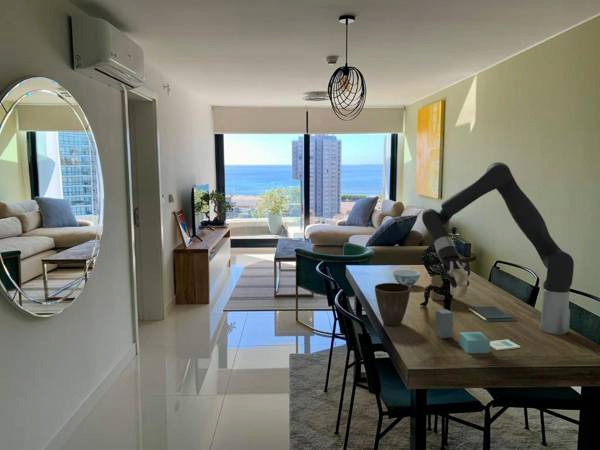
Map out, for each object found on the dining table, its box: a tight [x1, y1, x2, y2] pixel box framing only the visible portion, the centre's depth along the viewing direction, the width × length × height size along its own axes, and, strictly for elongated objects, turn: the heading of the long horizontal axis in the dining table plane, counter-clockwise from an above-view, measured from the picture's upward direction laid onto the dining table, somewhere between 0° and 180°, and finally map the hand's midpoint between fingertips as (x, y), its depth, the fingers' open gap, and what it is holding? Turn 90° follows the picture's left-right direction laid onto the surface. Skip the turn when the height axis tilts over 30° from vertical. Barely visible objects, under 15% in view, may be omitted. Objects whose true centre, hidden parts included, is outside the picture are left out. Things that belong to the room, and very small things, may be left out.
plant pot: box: [374, 282, 411, 327], centre depth 186 cm, size 15×15×16 cm
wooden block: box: [430, 275, 444, 302], centre depth 222 cm, size 10×10×20 cm
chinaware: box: [392, 269, 421, 288], centre depth 247 cm, size 15×15×8 cm
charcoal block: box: [435, 309, 454, 339], centre depth 172 cm, size 4×4×10 cm
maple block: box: [450, 269, 469, 298], centre depth 171 cm, size 4×4×10 cm
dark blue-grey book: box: [465, 305, 518, 323], centre depth 198 cm, size 20×2×15 cm
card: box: [490, 339, 521, 351], centre depth 163 cm, size 10×7×1 cm
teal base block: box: [458, 331, 491, 354], centre depth 160 cm, size 8×8×5 cm
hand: (461, 286), depth 169 cm, fingers closed on maple block, 4 cm apart
